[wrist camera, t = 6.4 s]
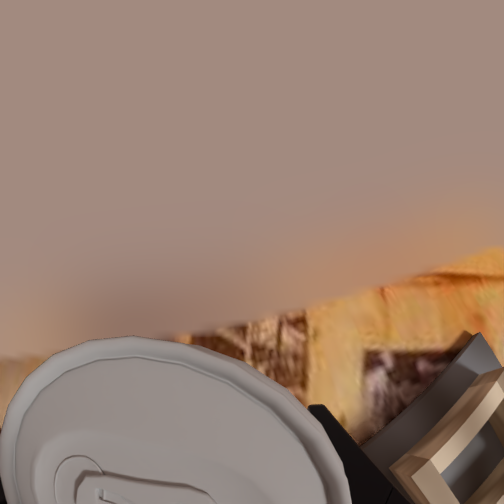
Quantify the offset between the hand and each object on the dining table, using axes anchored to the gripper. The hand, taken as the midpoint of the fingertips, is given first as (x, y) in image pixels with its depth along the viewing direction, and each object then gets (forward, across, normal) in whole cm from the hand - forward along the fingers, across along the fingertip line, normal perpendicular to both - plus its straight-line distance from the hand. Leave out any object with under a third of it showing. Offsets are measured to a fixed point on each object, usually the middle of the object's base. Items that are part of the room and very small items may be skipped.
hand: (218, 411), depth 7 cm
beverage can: (+4, 0, +6) cm, 7 cm away
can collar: (+4, -17, +13) cm, 22 cm away
